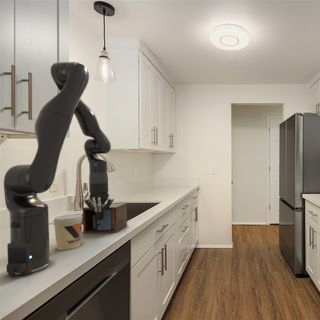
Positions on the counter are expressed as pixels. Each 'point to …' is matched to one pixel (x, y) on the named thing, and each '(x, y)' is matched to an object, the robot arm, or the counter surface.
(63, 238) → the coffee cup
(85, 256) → the counter surface
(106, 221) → the sliding lid with handle
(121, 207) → the cupboard
